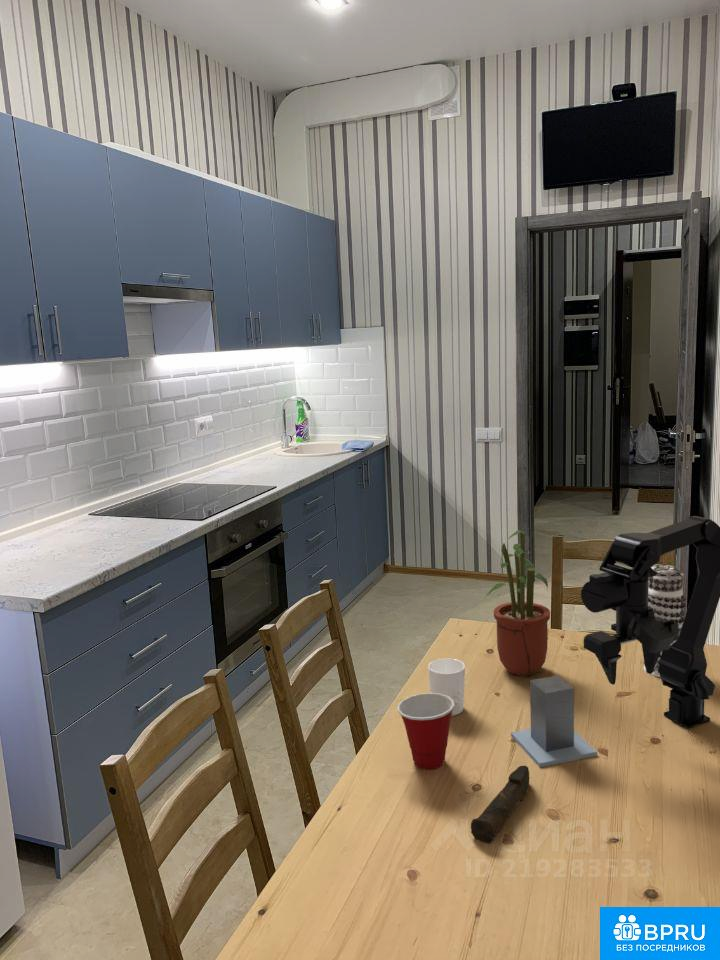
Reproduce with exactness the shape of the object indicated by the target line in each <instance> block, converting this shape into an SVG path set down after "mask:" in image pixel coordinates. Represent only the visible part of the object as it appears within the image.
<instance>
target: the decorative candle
mask: <svg viewBox="0 0 720 960" xmlns="http://www.w3.org/2000/svg"><path fill="white" fill-rule="evenodd" d="M651 568H652V569H653V570H655V571H656V572H657V575H656V576H653V577H649V590H648V607H651V608H653V611H654V617H660V618H662V619H665V620H667V621H668V620H672V619H673V620H675V621H676V622H677V623H678V626H679V634H680V631H681V628H682V625H683V621H684V618H685V617H683V616H685V615H686V613H685V611H684V610H682V609H684V608H686V603H685V601H686V596H685V595H683V593H684V590H683V589H684V587H683V578H684V577H685V573H683V572H681V570H679V568H677V566H674V565H670V564H657V565H656V564H655V565H653V566H652V567H651ZM676 641H677V640H676ZM674 642H675V641H674ZM674 642H673V643H674ZM673 643H672V644H673ZM672 644H671V645H672ZM661 655H662V651H661V653H660V655H659V658H658V660H657V662H656V665H655V667H654V670H653V672H652V674H649V673H647V674H648V675H651V676H652V677H657V678H661V677H660V674H659V672H658V666H659V663H658V661H659V659H660V657H661ZM643 670H644V671H645V672H646V668H645V664H644V663H643Z"/></svg>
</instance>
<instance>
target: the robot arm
mask: <svg viewBox="0 0 720 960" xmlns="http://www.w3.org/2000/svg"><path fill="white" fill-rule="evenodd" d="M689 545H693V546H694V547H695V548H696V552H695V561H696V565H697V568H698V575H697V579H696V582H695V584H694V588H693V592H692V593H691V598H690V600H689V603H688V606H687V608H686V609H687V610H686V613H685V615H684V617H683V618H684V621H683V625H682V627H681V631H680V634H679V626H678V623H677V622H676V621H675V620H673V619H672V620H668V621H667V620H665V619H662V618H660V617H654V611H653V608H651V607H648V590H649V577H653V576H656V575H657V572H656V571H655V570H653V569H652V567H653V566H656V564H657V565H658V563H659V562H660V561H661V558H662V556H664V555H666V554H667V553H671V552H673V551H677V550H679V549H682V548H685V547H687V546H689ZM617 564H619V565H617ZM621 565H622V566H621ZM599 566H600V567H599V571H600V572H602V573H594V574H590V575H589V578H588V579H589V580H588V581H587V582H585V583H584V584H583V586H582V589H581V590H580V597H581V601H582V603H583V605H584V607H585V608H586V609H587V610H589V611H590V613H600V612H604V611H607V610H613V611H615V623H612V624H610V625H611V627H610V630H611V631H613V632H615V634H613V635H612V634H608V633H607V632H605V631H603V630H599V631H596V632H591V633H588V634H586V635H585V636H584V637H583V649H584V650H587V651H589V652H591V653H593V654H594V655H595V657H596V658H597V660H598V662H599V663H600V666H601V668H602V669H603V672H604V675H606V678H607V680H608V682H609V684H611V685H613V686H614V685H615V684H616V682H617V681H616V680H617V664H618V663H617V662H618V660H619V659H621V658H622V657H623V656H622V655H621V654H620V652H621V651H622V645H624V644H629V643H632V642H637V641H638V642H639V643H640V644H641V648H642V656H643V665H644V664H645V668H646V671H645V673H646V674H648V673H649V674H648V675H650V674H652V672H653V670H654V667H655V665H656V662H657V660H658V658H659V655H660V653H661V651H662V655H661V657H660V659H659V661H658V663H659V666H658V672H659V674H660V677H659V678H660V680H661V683H662V686H665V687H667V688H670V691H669V698H668V710H667V711H664V712H663V716H664V717H666V718H667V719H670V720H672V721H674V723H677V724H679V725H680V726H683V727H684V728H686V729H690V728H693V727H696V726H699V725H702V724H705V723H708V722H710V721H711V717H709V716H708V715H705V700H706V701H707V700H710V697H711V696H713V694H714V692H715V688H716V684H715V683H714V682H713V681H712V680H711V679H710V678H709V677H708V676H707V675H706V673H707V672H706V671H707V668H708V663H707V658H706V655H705V650H704V649H705V644H706V642H707V639H708V635H709V632H710V630H711V626H712V623H713V620H714V618H715V617H714V616H715V614H716V611H717V607H718V605H719V602H720V526H719V525H718V524H717V523H716V521H714V520H713V519H711V518H706V517H702V516H697V515H693V516H692V515H691V516H689V517H687V518H686V519H684V520H681V521H678V522H675V523H672V524H669V525H667V526H663V527H660V528H658V529H656V530H653V531H649V532H627V533H620V534H618V535H617V536H615V538H614V540H613V542H612V543H611V544H610V547H609V549H608V550H607V553H606V554H605V556H604V559H603V561H602V562H601V564H600V565H599ZM624 566H626V567H624ZM628 567H629V568H628ZM676 640H677V641H676ZM674 641H675V642H674ZM673 642H674V643H673ZM672 643H673V644H672ZM671 644H672V645H671Z"/></svg>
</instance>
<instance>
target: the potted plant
mask: <svg viewBox="0 0 720 960" xmlns="http://www.w3.org/2000/svg"><path fill="white" fill-rule="evenodd" d="M518 534H520V537H519V541H520V543H514V544H513V545H512V549H513V551H514V553H513V554H512V553H509V551H508V548H507V546H506V543H505V542H503V543H502V545H501V553H502V556H503V559H504V562H501V563H500V564H499V565H500V569H501V570H503V569H504V568H505V569H506V572H507V581H508V583H506V582H504V581H503V582H498V583H496V584H495V585H494V586H493V587H491V588H490V590H489V591H488V593H487V595H485V597H484V599H483V601H482V602H483V603H484V602H485V600H487V598H488V597H489V596H490V595H491V594H492V593H493V592H495V591H496V590H498V589H500V588H502V587H503V586H506V585H507V584H508V585H509V586H508V587H509V593H510V594H509V595H510V602H507V603H502V604H500V605H497V606H496V607H495V608H494V609H493V617H494V619H495V621H496V645H497V646H496V647H497V652H498V653H497V654H498V656H499V661H500V663H501V664H502V665H503V667H504V669H506V670H507V671H508V672H509V673H511V674H513V675H516V676H532V675H534V674H536V673H537V672H539V671H540V670H541V669H542V667H543V666H544V664H545V662H546V659H547V653H548V633H549V631H548V628H549V627H548V621H549V620H550V618H551V611H550V609H549V608H548V607H546V606H544V605H542V604H538V603H535V602H534V592H535V591H534V589H535V588H534V587H535V585H534V584H535V578H536V579H539V580H541V581H542V582H543V583H544V585H545V586H546V587H547V588H546V590H548V589H549V585H548V578H546V577H545V576H543V575H542V574H541V573H540V572H539V573H537V572H536V573H535V570H536V567H535V566H534V564H533V563H532V562H531V561H530V560H528V559H527V558H526V554H528V555H529V554H530V552H531V551H530V550H525V549H526V546H525V545H526V542H525V541H526V540H525V539H526V535H525V534H526V533H525V531H522V530H518V531H517V530H516V531H515V532H513V533H511V535H510V536H509V537H508V538H507V540H506V542H508V541H509V540H510V539H511V538H513V537H515V536H517V535H518ZM510 557H514V566H515V582H516V584H514V579H513V572H512V567H511V561H510ZM526 569H527V573H526ZM526 575H527V576H526ZM515 585H516V591H515ZM515 592H516V594H515ZM525 593H526V594H525ZM525 597H526V598H525ZM516 600H517V601H516ZM525 600H526V601H525Z"/></svg>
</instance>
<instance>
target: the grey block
mask: <svg viewBox="0 0 720 960" xmlns="http://www.w3.org/2000/svg"><path fill="white" fill-rule="evenodd" d="M529 692H530V693H529V697H530V698H529V703H530V707H529V708H530V729H531V738H532V739H533V740H534V741H535V742H536V743H537V744H538V745H539V746H540V747H541V748H542V749H543V750H544V751H545V752H549V751H554V750H559V749H563V748H568V747H573V746H574V731H575V687H573V686H572V685H571V684H570V683H568V682H567V681H566V680H564V679H563V678H561V677H560V676H559V675H552V676H548V677H547V676H546V677H541V678H536V679H535V678H534V679H531V680H529Z"/></svg>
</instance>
